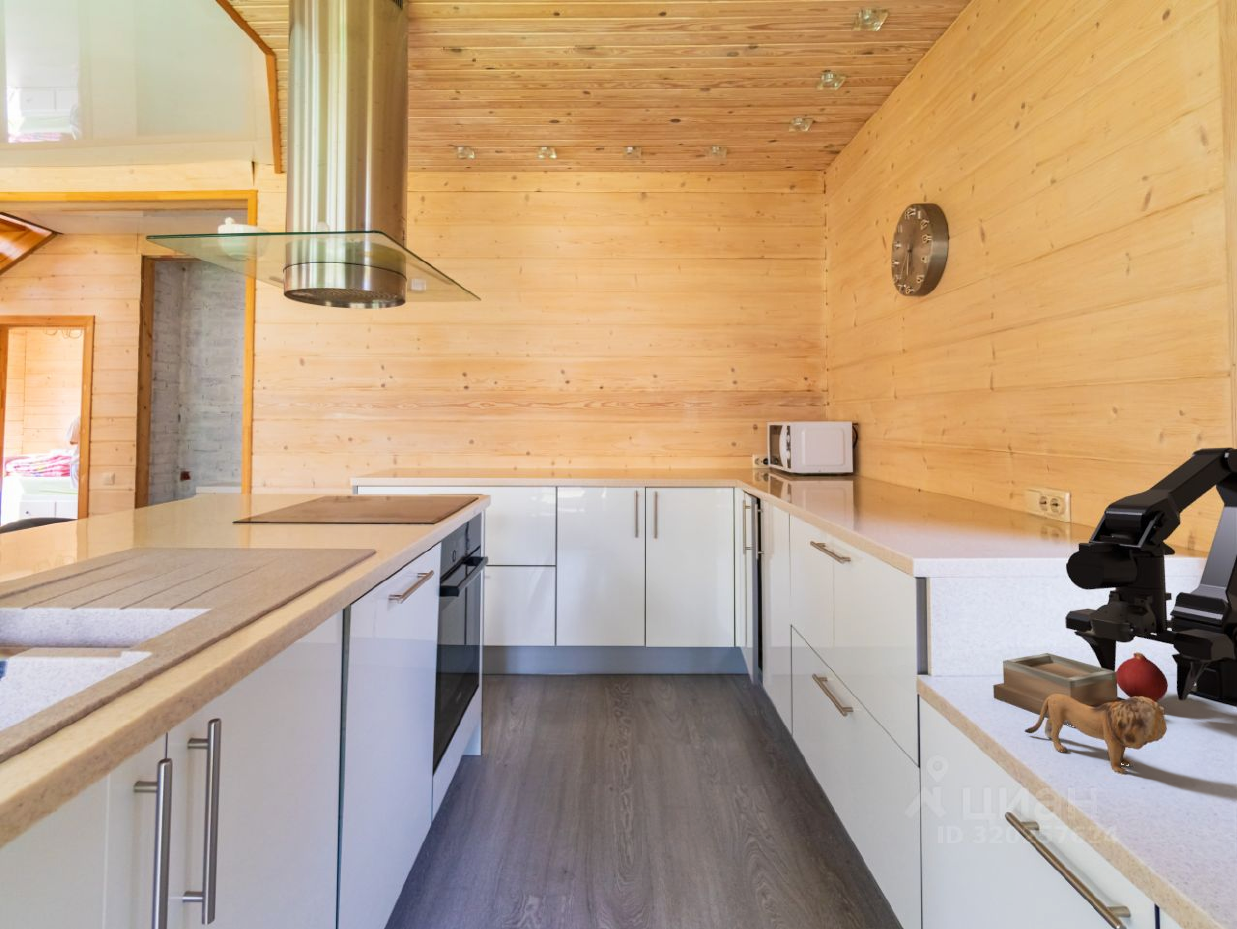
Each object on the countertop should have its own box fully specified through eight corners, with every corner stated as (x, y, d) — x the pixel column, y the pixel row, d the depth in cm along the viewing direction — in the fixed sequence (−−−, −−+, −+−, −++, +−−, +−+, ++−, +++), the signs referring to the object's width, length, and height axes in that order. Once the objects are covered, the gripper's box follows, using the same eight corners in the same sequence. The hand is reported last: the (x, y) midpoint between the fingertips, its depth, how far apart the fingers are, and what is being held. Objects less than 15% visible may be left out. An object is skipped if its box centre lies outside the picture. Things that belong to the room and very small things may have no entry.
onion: (1133, 696, 92) (1131, 645, 92) (1178, 709, 87) (1175, 655, 87) (1108, 701, 90) (1105, 649, 90) (1152, 715, 85) (1149, 660, 85)
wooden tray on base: (1046, 686, 97) (1045, 650, 97) (1130, 714, 85) (1128, 673, 85) (993, 697, 93) (992, 659, 93) (1074, 728, 81) (1072, 684, 81)
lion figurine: (1175, 774, 69) (1172, 697, 69) (1161, 788, 66) (1158, 708, 66) (1032, 730, 81) (1030, 665, 81) (1015, 741, 78) (1013, 673, 78)
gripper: (1039, 579, 94) (1043, 676, 94) (1183, 602, 77) (1188, 722, 77) (1086, 574, 98) (1090, 667, 98) (1233, 594, 80) (1238, 708, 80)
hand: (1144, 689), depth 88 cm, fingers open, 9 cm apart
